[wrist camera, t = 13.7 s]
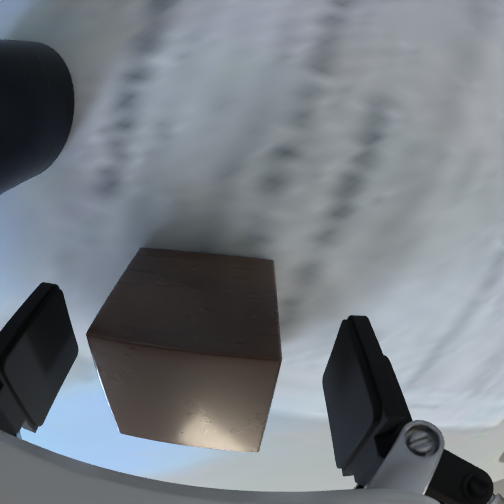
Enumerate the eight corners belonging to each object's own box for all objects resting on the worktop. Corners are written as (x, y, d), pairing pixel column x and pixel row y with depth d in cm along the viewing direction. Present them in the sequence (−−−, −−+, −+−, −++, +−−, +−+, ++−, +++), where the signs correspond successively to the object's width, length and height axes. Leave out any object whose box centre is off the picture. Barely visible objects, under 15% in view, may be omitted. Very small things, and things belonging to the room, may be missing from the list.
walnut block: (150, 344, 13) (119, 433, 9) (140, 246, 11) (84, 333, 7) (258, 356, 13) (259, 453, 9) (274, 259, 11) (282, 358, 7)
